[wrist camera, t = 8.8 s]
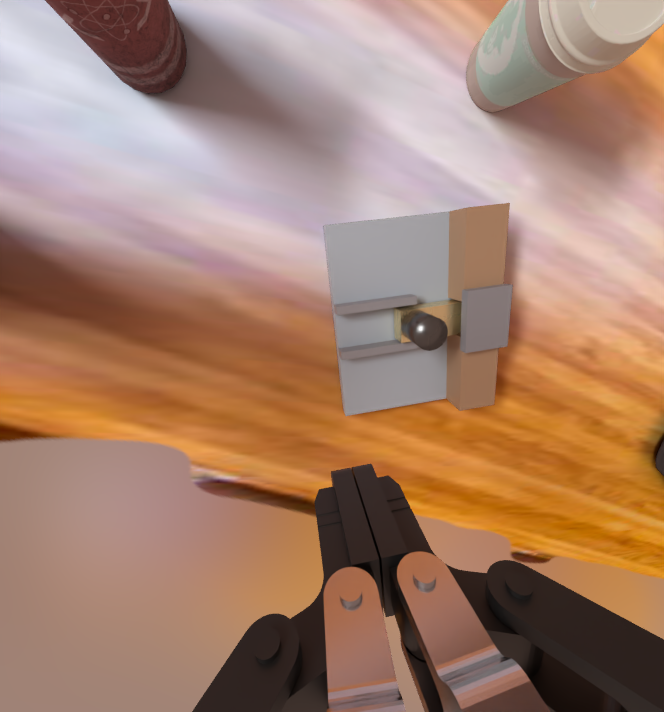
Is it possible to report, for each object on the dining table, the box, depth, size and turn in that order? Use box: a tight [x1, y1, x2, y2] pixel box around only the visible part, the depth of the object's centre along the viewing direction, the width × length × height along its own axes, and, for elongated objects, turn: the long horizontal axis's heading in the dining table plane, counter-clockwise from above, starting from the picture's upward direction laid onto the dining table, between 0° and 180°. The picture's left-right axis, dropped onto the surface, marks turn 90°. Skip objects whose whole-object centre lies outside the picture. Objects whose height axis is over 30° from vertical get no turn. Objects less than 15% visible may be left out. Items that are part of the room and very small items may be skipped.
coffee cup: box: [466, 0, 664, 112], centre depth 22 cm, size 8×8×12 cm
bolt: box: [393, 299, 462, 351], centre depth 30 cm, size 10×3×6 cm, turn 96°
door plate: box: [323, 203, 513, 416], centre depth 31 cm, size 16×20×6 cm
